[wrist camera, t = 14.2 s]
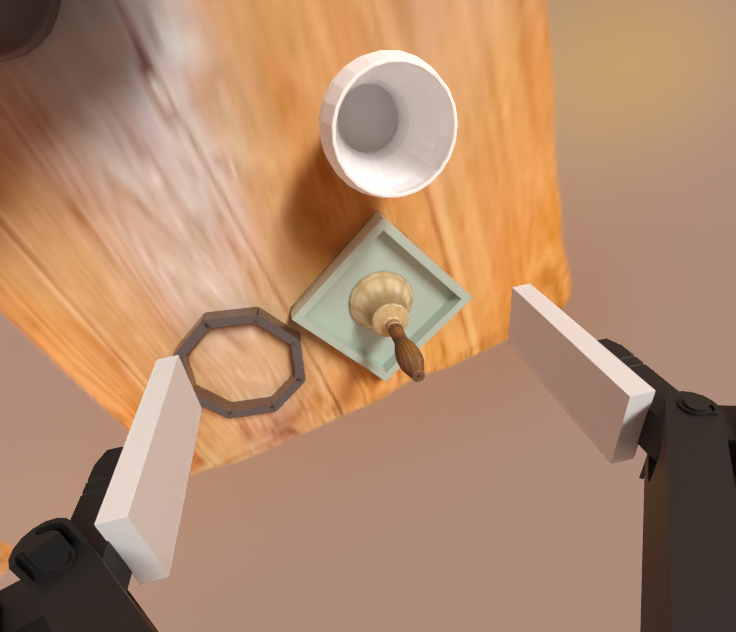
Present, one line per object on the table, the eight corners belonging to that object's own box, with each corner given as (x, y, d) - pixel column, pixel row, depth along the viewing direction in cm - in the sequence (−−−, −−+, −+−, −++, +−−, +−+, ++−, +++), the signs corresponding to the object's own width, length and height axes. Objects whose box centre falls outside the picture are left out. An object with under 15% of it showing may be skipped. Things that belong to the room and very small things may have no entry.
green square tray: (291, 307, 53) (291, 319, 51) (377, 210, 49) (383, 217, 47) (381, 368, 60) (385, 381, 58) (463, 287, 56) (472, 297, 54)
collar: (155, 372, 54) (151, 381, 53) (226, 286, 50) (224, 292, 49) (256, 423, 61) (256, 432, 60) (326, 350, 57) (327, 358, 56)
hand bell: (397, 258, 52) (440, 324, 38) (422, 310, 56) (469, 386, 42) (337, 291, 52) (357, 367, 38) (366, 339, 56) (394, 423, 43)
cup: (415, 160, 47) (466, 192, 34) (320, 177, 46) (337, 216, 33) (407, 48, 42) (464, 36, 29) (300, 65, 41) (310, 59, 28)
